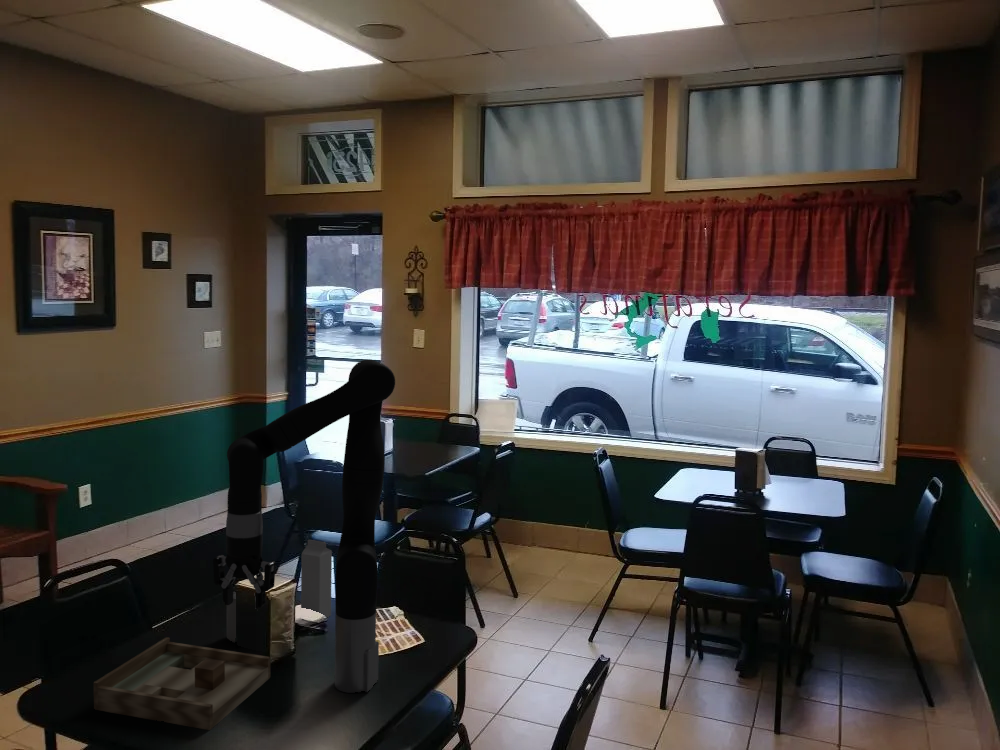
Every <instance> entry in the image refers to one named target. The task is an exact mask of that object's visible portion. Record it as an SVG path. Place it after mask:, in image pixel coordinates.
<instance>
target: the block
mask: <svg viewBox="0 0 1000 750" xmlns="http://www.w3.org/2000/svg"><path fill="white" fill-rule="evenodd" d="M224 681H225V661H219V660H213V659H206V660H204V661H203V662H201V663H200V664H199V665H197V666H196V667H195V687H198V688H204V689H210V690H214V689H215V688H216V687H217V686H219V685H220V684H221V683H222V682H224Z"/></svg>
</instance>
